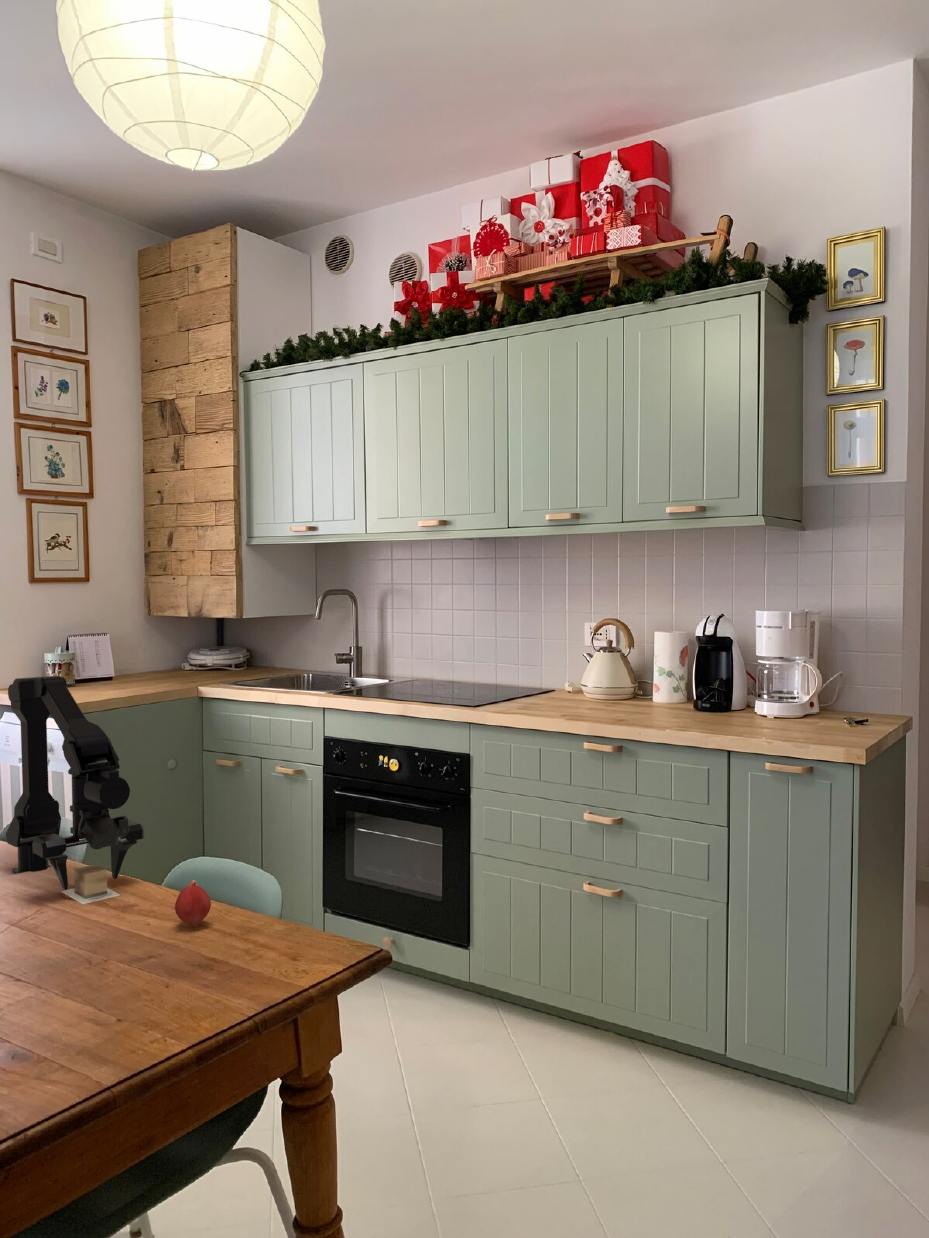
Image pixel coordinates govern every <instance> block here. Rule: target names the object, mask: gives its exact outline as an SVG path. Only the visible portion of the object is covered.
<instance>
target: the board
mask: <svg viewBox="0 0 929 1238" xmlns="http://www.w3.org/2000/svg"><path fill="white" fill-rule="evenodd" d="M61 893H63V894H65V895H66V896H67V897H70V898H71V899H73V900H74V901H76V902H78V903H80V905H81V904H82V905H86V904H91V903H95V902H98V901H102V900H106V899H110V898H111V899H112V898H115V897H118V896H121V894H119V893H117V892H116V891H114V890H112V889H110V888H108V887H107V894H105V895H101V896H96V897H92V898H88V899H85V898H83V897H81V896H79V895H78V894H76V893H75V887H74V888H69V889H67V890H61Z"/></svg>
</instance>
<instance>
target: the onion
mask: <svg viewBox="0 0 929 1238" xmlns="http://www.w3.org/2000/svg"><path fill="white" fill-rule="evenodd" d="M211 906H212V901H211V897H210V895H209V894H208V892H207V890H206V889H204V888H203V887H201V886H200V885H198V884H197V881H196V880H191V882H190V883H189V884H188V885H187V886H185V888H183V889H182V890H181V891H180V893H179V894H178V895H177V898H176V900H175V904H174V911H175V914H176V915H177V918H179V919H180V921H182V922H183V923H185V924H186V925H188V926H190V927H191V928H195V927H196V928H197V927H198V925H199V924H201V923H202V921H203V920H204V919H206V918H207V916H208V914H209V912H210V911H211Z"/></svg>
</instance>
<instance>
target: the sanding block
mask: <svg viewBox="0 0 929 1238" xmlns="http://www.w3.org/2000/svg"><path fill="white" fill-rule="evenodd" d="M73 871H74V872H73V873H74V878H73V881H74V888H75V893H76V894H78V895H79V896H81V897H83V898H85V899H88V898H92V897H96V896H101V895H105V894H107V888H108V874H107V873H108V872H107V869H106V868H104V867H102V866H100V865H98V864H91V865H87V866H81V867H76V868H73Z"/></svg>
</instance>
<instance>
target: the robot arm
mask: <svg viewBox="0 0 929 1238" xmlns="http://www.w3.org/2000/svg"><path fill="white" fill-rule="evenodd" d="M7 697H8V700H9V702H10V709H11V710H12V713H14V715H15V716H16V718H17V719H18V720H19V723H20V745H21V746H20V748H21V749H20V751H21V776H22V777H21V778H22V779H21V780H22V782H21V783H22V793H21V795H20V797H19V799H18V801H17V802H16V803H15V806H14V810H13V818H12V820H11V822H10V824H9V825H8V828H7V829H6V832H5V836H6V843H7V844H8V845H10V846H12V847H15V848H17V867H13V868H11V871H12V872H13V873H14V874H16V873H17V874H16V875H18V874H23V873H29V872H30V873H31V872H32V873H36V872H41V871H45V870H48V868H51V867H52V868H53V869H54V871H55V872H54V873H55V874H56V876H57V879H58V880H59V883H60V885H61V887H62V890H63V891H65V890H69V889H68V888H69V887H68V885H69V879H68V869H67V860H68V857H69V855H67V854H65V852H66V851H67V848H72V847H76V846H82V845H86V844H89V847H90V849H94V850H101V849H102V848H106V847H110V867H111V875H112V879H114V880H116V879H118V877H119V873H120V870H121V868H122V865H123V862H124V859H125V857H126V855H127V852H128V850H129V849H130V848H132V846H134V845H137V843H138V841H139V840H143V839H144V838H145V829H144V827H143V825H142V824H141V823H140V822H136V821H134V820H133V819H132V820H131V819H129V818H128V817H127V816H126V815H119V816H116V817H111V815H110V810H116V809H120V808H121V807H122V806H124V805H125V804H126V803H127V802H128V800H129V798H130V795H131V794H130V792H131V789H130V786H129V783H128V781H127V780H125V778H123V777H122V776H120V771H119V770H120V763H119V761H120V758H119V757H118V754H117V752H116V750H115V748H114V746H113V744H112V741H111V739H110V737H109V736H108V735H107V733H106V732H105V731H104V730H103V729H102V728H101V726H99V725H98V724H95V723H93V722H90V721H89V720H88V719H87V718H86V716H85V714H84V712H83V711H82V710H81V708H80V707H79V705H78V703H77V701H76V700H75V698H74V697H73V694H72V693H71V692H70V690H69V689H68V683H67V681H66V678H65V677H64V676H61V675H50V676H48V675H47V676H46V675H45V676H36V677H35V676H33V677H22V678H21V677H20V678H15V679H14V680H13V681H12V684H9V686H8V689H7ZM50 716H51V718H52V719H53V720H54V723H55V724H56V726H57V727H58V729H59V731H60V732H61V734H62V737H63V742H62V746H61V750H62V752H63V757H64V758H65V761H66V762H67V764H68V766H69V767H70V768H69V769H68V771H67V774H68V775H71V805H69V812H71V813H72V827H69V828H70V834H71V835H69V836H64V837H62V836H61V835H60V830H61V824H62V816H61V813H60V803H59V801H58V800H56V799H55V798H54V797H53V796H52V794H51V793H50V792H49V787H50V786H49V760H48V759H49V757H48V756H49V755H48V754H49V753H48V732H47V731H48V728H47V727H48V725H47V723H48V722H47V721H48V719H49V717H50Z"/></svg>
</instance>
